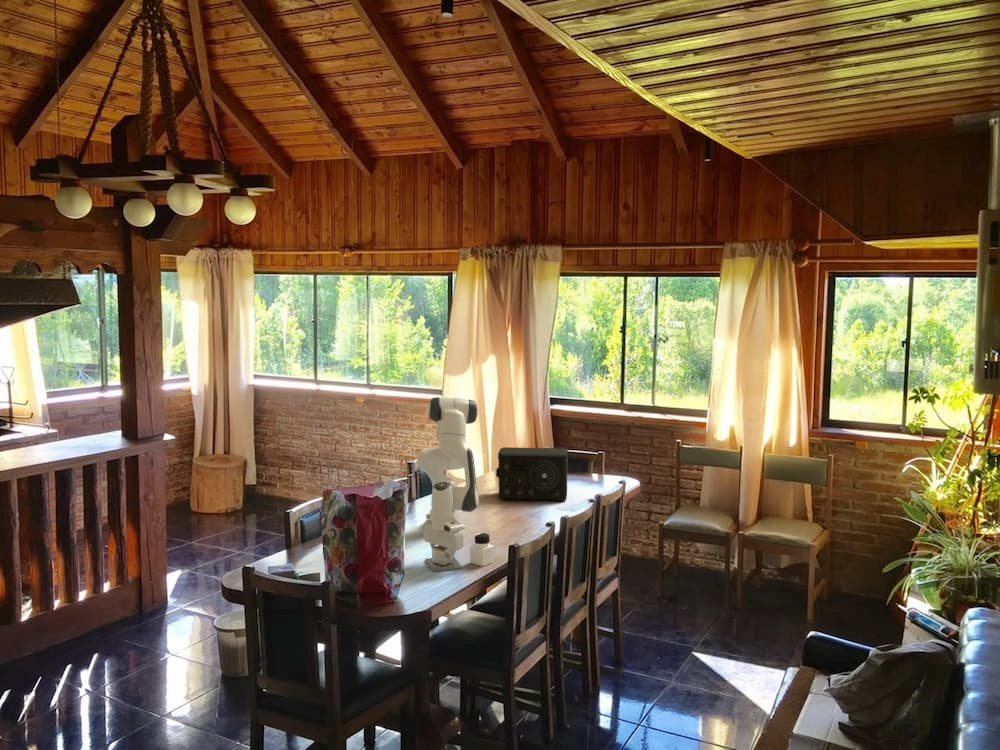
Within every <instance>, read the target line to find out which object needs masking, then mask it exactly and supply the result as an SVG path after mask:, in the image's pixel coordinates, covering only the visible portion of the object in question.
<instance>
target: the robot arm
mask: <svg viewBox="0 0 1000 750" xmlns="http://www.w3.org/2000/svg"><path fill="white" fill-rule="evenodd" d="M428 402H429V403H428V404H427V408H426V410H427V415H428V419H429V420H430V421H433V422H435V423H437V424H436V431H435V438H436V441H438V446H432V447H431V446H430V447H427V448H423V449H421V450H419V452H418V454H417V457H416V463H417V466H418V467H419V469H420V470H421V471H423V472H424V473H425V474H427V475H428V477H429V479H430V481H431V485H432V490H431V509H430V510H429V513H426V514H425V517H426V520H425V521H424V526H423V527H424V528H423V540H424V542H426V543H429V546H430V548H431V549H432V547H435V546H438V545H439V546H442V547H446V548H449V549H450V551H451V553H450V554H449V555H448V556H449V557H448V558H449V559H454V558H455V553H456V552H457V551H460V550H462V549H463V548H464V534H463V531H462V530H463V529H465V528H466V525H465V524H464V523H463V518H462V515H463V513H462V512H467V513H468V512H469V513H472V512H473V511H475V510H476V509H477V508H478V507H479V503H480V498H479V491H478V485H477V477H476V476H477V475H476V467H475V466H476V465H475V460H474V454H473V452H472V449H470V448H469V447H468V446H467V442H466V441H467V439H466V435H467V434H466V433H467V432H466V431H467V429H466V425H468V424H469V425H470V424H474V422H476V421H477V418H478V416H479V413H480V412H479V406H478V404H477V402H476V401H475V400H472V399H465V398H459V397H440V396H437V397H432V398H431V399H430V400H429V401H428ZM461 469H464V477H465V479H464V480H465V486H458V484H457V482H456V480H455V479H454V478H452V477H449V476H447V475H445V471H453V470H461Z"/></svg>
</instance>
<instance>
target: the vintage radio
mask: <svg viewBox="0 0 1000 750" xmlns="http://www.w3.org/2000/svg"><path fill="white" fill-rule="evenodd" d="M568 455H569V450H568V449H567V448H565V447H560V448H557V447H500V449H499V451H498V454H497V459H498V467H497V468H496V470H495V473H496V474H495V476H496V478H497V479H498V498H499V499H500V500H503V501H508V500H528V501H529V500H536V501H537V500H539V501H541V500H542V501H557V502H563V501H566V500H567V497H568V496H567V495H568V469H569V468H568V467H569V463H568V462H569V461H568V457H569V456H568Z"/></svg>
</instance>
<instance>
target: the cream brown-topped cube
mask: <svg viewBox="0 0 1000 750" xmlns="http://www.w3.org/2000/svg"><path fill="white" fill-rule="evenodd" d="M450 553H451V551H450V549H449V548H446V547H442V546H439V545H436V546H435V547H432V548H431V558H432V562H434V563H438V564H441V565H445V564H448V563H451V562H454V559H449V558H448V557H449V556H448V555H449V554H450Z"/></svg>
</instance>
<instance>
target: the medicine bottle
mask: <svg viewBox="0 0 1000 750" xmlns="http://www.w3.org/2000/svg"><path fill="white" fill-rule="evenodd" d="M490 543H491V542H490V534H489V533H486V532H478V533H476V534H475V535H474V544H473V545H470V547H469V548H470V549H469V551H470V553H469V554H470V557H469V558H470V560H469V561H470V563H471V564H474V565H476V566H477V565H478V566H481V567H485V566H487V565H490V564H493V563H494V562H495V546H494V545H493V544H490Z"/></svg>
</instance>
